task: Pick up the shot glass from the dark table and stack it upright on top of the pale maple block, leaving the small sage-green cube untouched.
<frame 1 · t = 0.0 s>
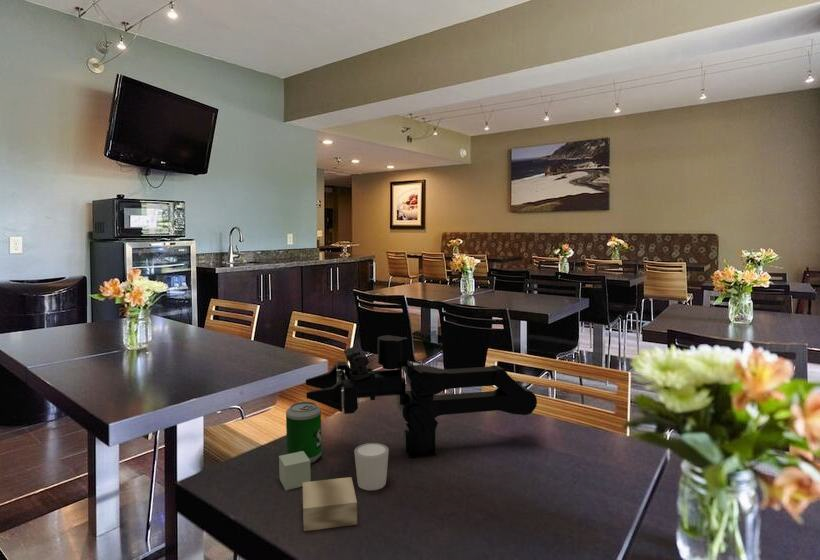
hand: (306, 388, 107), 17 cm above the table, tool horizontal, fingers open, 9 cm apart
sage cube: (295, 482, 100), on the table
soda can: (304, 459, 110), on the table
maple block: (329, 513, 89), on the table
shot glass: (371, 484, 100), on the table
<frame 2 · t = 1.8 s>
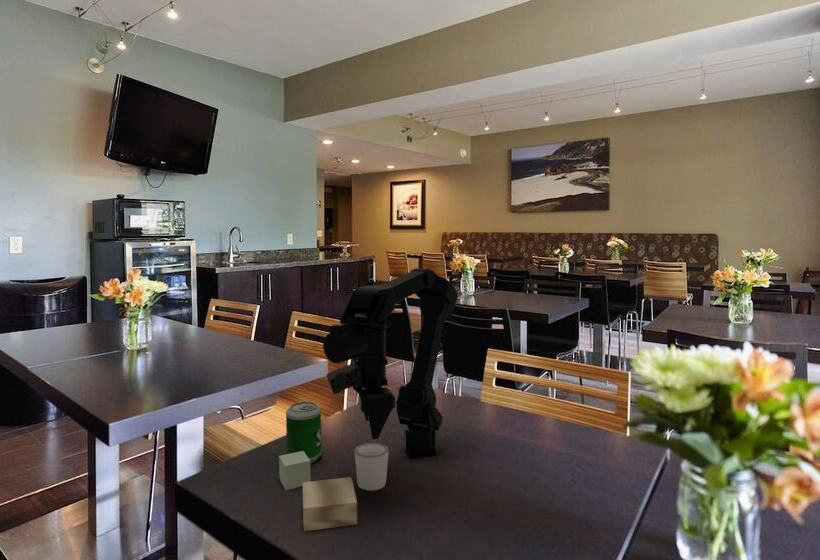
hand: (371, 429, 99), 11 cm above the table, tool pointing down, fingers open, 9 cm apart
nothing on the table moved.
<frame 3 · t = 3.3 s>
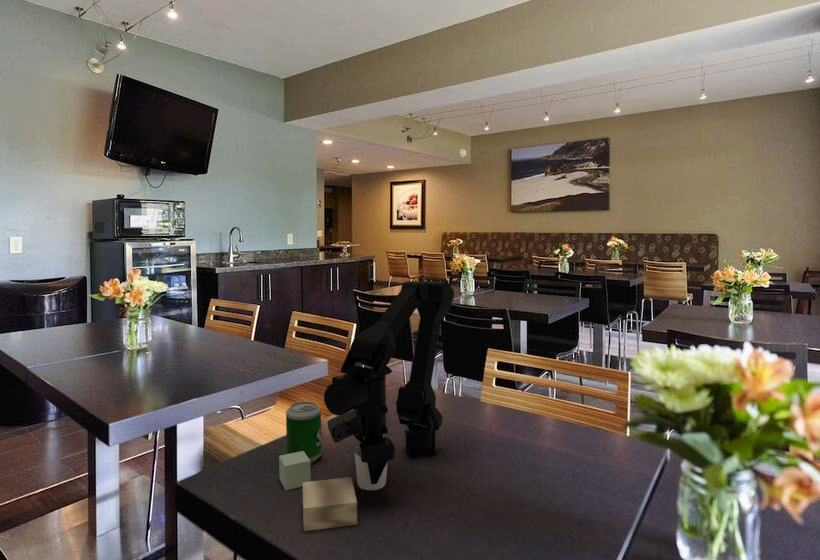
hand: (371, 475, 100), 2 cm above the table, tool pointing down, fingers closed on shot glass, 6 cm apart
shot glass: (371, 484, 100), on the table, touching gripper
everything else where it was.
when the fingers open (7 cm above the table, at t = 6.6 s): shot glass drops 1 cm, resting on maple block.
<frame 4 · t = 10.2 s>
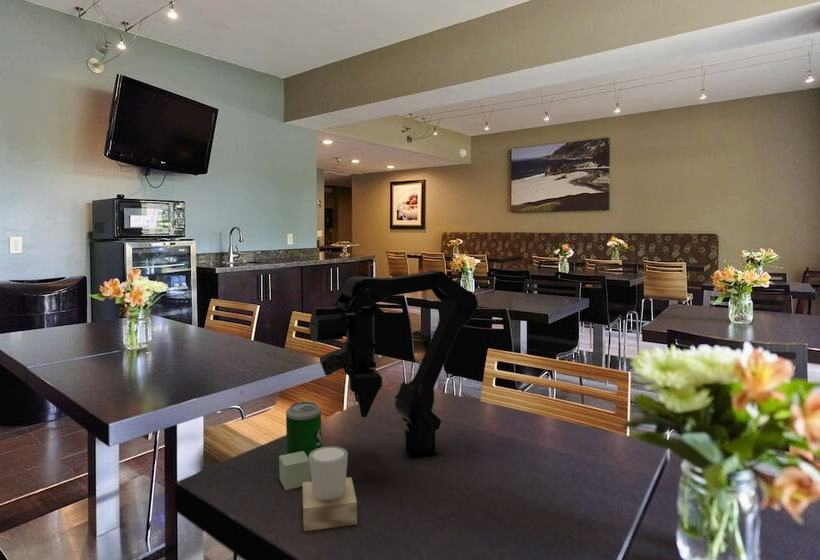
hand: (361, 409, 106), 13 cm above the table, tool pointing down, fingers open, 9 cm apart
shot glass: (328, 492, 89), point 4 cm above the table, touching maple block
everything else where it was.
at the end: shot glass 0.1 cm from the maple block (horizontally); shot glass point 3.8 cm above the table; shot glass tilted 0° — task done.
